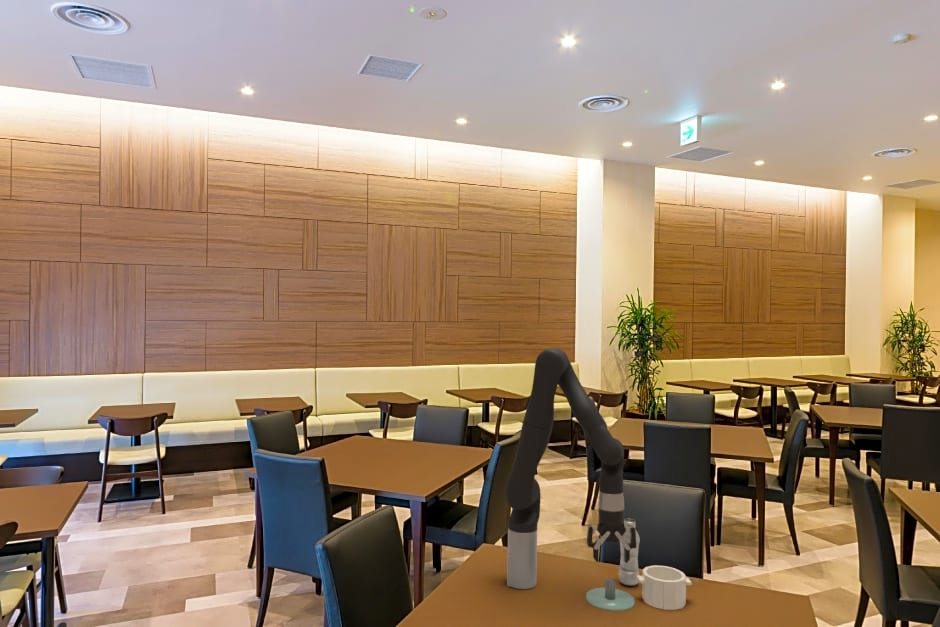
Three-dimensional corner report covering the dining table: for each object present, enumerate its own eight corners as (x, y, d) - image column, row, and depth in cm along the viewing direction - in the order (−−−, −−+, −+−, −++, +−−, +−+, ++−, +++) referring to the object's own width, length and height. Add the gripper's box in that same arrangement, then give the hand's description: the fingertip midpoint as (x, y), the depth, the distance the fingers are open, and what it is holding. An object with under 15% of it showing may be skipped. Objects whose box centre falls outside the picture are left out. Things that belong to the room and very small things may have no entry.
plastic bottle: (637, 580, 196) (638, 517, 197) (641, 589, 190) (641, 524, 190) (616, 579, 197) (617, 516, 197) (620, 587, 190) (620, 523, 191)
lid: (589, 610, 175) (590, 589, 175) (583, 589, 189) (583, 570, 189) (639, 613, 174) (639, 592, 174) (629, 591, 188) (629, 572, 188)
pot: (642, 608, 176) (642, 580, 176) (633, 590, 188) (633, 564, 188) (696, 610, 175) (696, 582, 176) (683, 592, 187) (683, 566, 188)
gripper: (588, 509, 179) (589, 565, 178) (638, 510, 178) (638, 566, 178) (585, 502, 186) (585, 556, 186) (632, 503, 186) (632, 557, 185)
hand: (611, 561), depth 182 cm, fingers open, 8 cm apart
